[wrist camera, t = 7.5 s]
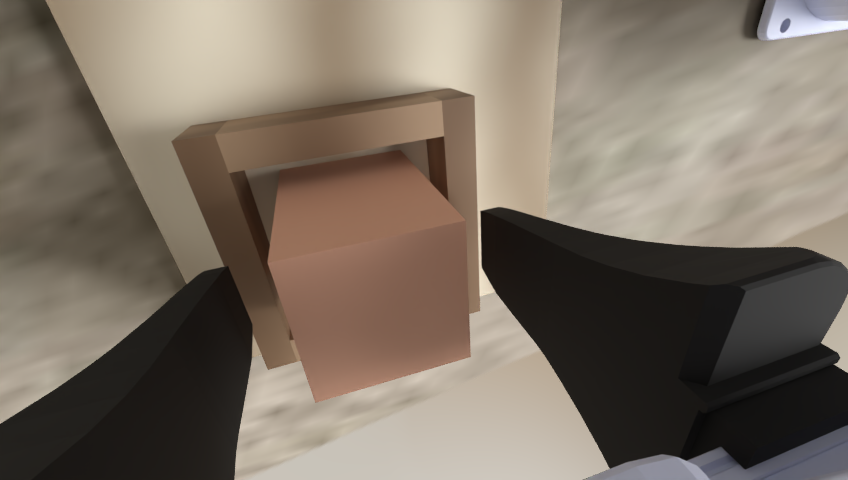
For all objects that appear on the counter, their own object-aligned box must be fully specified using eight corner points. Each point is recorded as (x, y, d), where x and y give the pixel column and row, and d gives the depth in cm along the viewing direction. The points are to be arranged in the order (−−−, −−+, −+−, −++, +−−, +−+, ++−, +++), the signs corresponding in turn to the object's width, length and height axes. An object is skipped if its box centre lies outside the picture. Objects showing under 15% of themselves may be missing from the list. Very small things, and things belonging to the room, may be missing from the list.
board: (569, -441, 9) (679, -635, 6) (530, 268, 19) (567, 304, 16) (-208, -575, 6) (-584, -1033, 3) (230, 347, 16) (216, 405, 13)
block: (400, 149, 13) (465, 220, 8) (411, 249, 15) (470, 357, 10) (279, 169, 12) (267, 262, 7) (309, 272, 14) (315, 402, 9)
